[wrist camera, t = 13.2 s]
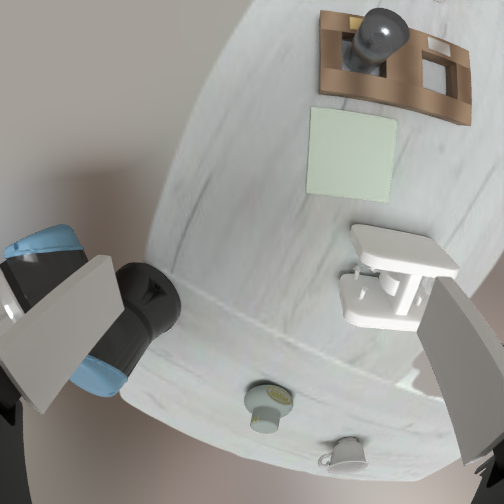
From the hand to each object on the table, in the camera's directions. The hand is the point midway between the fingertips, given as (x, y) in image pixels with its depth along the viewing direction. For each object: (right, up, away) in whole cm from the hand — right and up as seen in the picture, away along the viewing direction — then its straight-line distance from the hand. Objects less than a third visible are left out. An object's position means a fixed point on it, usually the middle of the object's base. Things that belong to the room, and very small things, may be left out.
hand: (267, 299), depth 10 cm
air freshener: (+4, -30, +47) cm, 56 cm away
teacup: (+27, -54, +54) cm, 81 cm away
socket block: (+19, +27, +17) cm, 37 cm away
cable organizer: (+21, +1, +29) cm, 36 cm away
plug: (+14, +27, +18) cm, 36 cm away
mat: (+13, +15, +24) cm, 31 cm away
